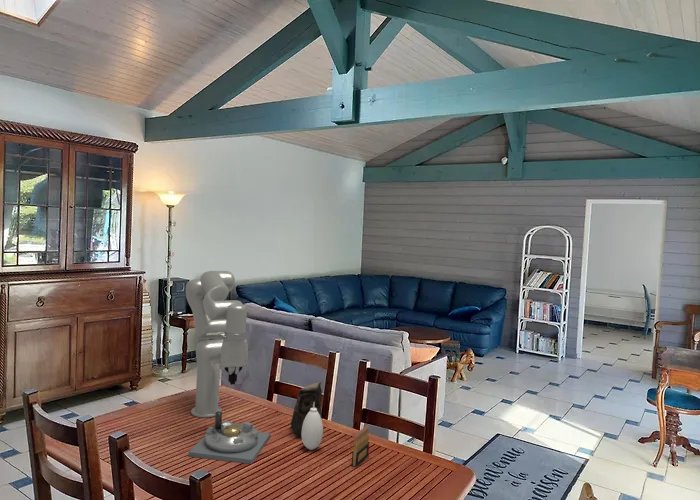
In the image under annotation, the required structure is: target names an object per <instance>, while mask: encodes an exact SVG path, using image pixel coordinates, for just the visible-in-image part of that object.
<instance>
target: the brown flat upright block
mask: <svg viewBox="0 0 700 500" xmlns="http://www.w3.org/2000/svg"><path fill="white" fill-rule="evenodd" d="M369 432H370V431H369V425H368V424H366V425H365V426H364V427H362V429H361V428H360V430H358V432H356V433H355V436H354V442H353V451H352V452H351V453H352V454H351V455H352V456H351V467H354V468H357V467H359V466H360V465H361V463H362V462H364V461H365V460H366V459H368V457H369V454H370V453H369V451H370V442H369V438H370V437H369V436H370V435H369Z"/></svg>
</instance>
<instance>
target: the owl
mask: <svg viewBox="0 0 700 500" xmlns="http://www.w3.org/2000/svg"><path fill="white" fill-rule="evenodd" d="M321 385H322V382H321V381H318V382H315V383H311V384H309V385H306V386H304V387H302V388H300V389H299V390H298V393H297V397H296V403H295V405H294V408H293V412H292V417H291V421H290V429H291V430H292V432H293V434H294V435H295V436H296V438H297V439H301V440H302V436H301V432H302V425H303V422H304V419H305V417H306V415H307V414H308V412H309V411H310V408H313V403H314V408H317V411H318V413H319V415H320V417H321V418H322V415H323V414H322V410H323V409H322V407H321V405H322V404H321V403H322V398H323V390H322V386H321Z"/></svg>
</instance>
